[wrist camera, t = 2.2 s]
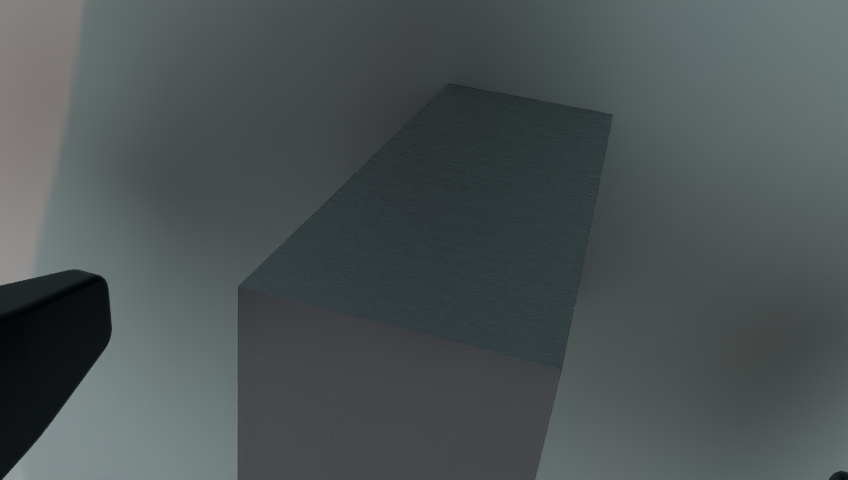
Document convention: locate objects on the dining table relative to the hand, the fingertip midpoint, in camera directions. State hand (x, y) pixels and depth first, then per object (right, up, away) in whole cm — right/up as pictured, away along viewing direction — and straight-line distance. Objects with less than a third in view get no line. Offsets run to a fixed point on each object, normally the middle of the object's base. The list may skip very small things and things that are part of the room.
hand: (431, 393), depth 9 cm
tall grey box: (+2, +3, +5) cm, 6 cm away
